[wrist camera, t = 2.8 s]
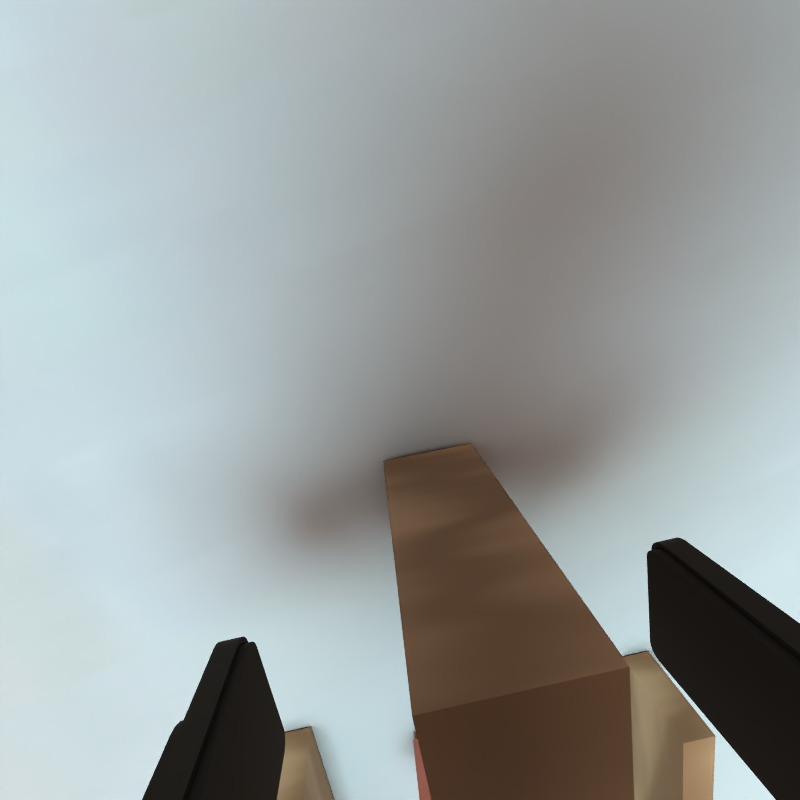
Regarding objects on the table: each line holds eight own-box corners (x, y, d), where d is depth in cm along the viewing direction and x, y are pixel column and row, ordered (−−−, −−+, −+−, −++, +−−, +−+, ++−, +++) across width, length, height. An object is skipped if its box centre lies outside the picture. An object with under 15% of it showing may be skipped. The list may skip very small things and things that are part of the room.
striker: (504, 436, 15) (709, 648, 6) (539, 737, 19) (693, 1128, 10) (350, 467, 14) (328, 734, 6) (419, 765, 18) (468, 1190, 10)
